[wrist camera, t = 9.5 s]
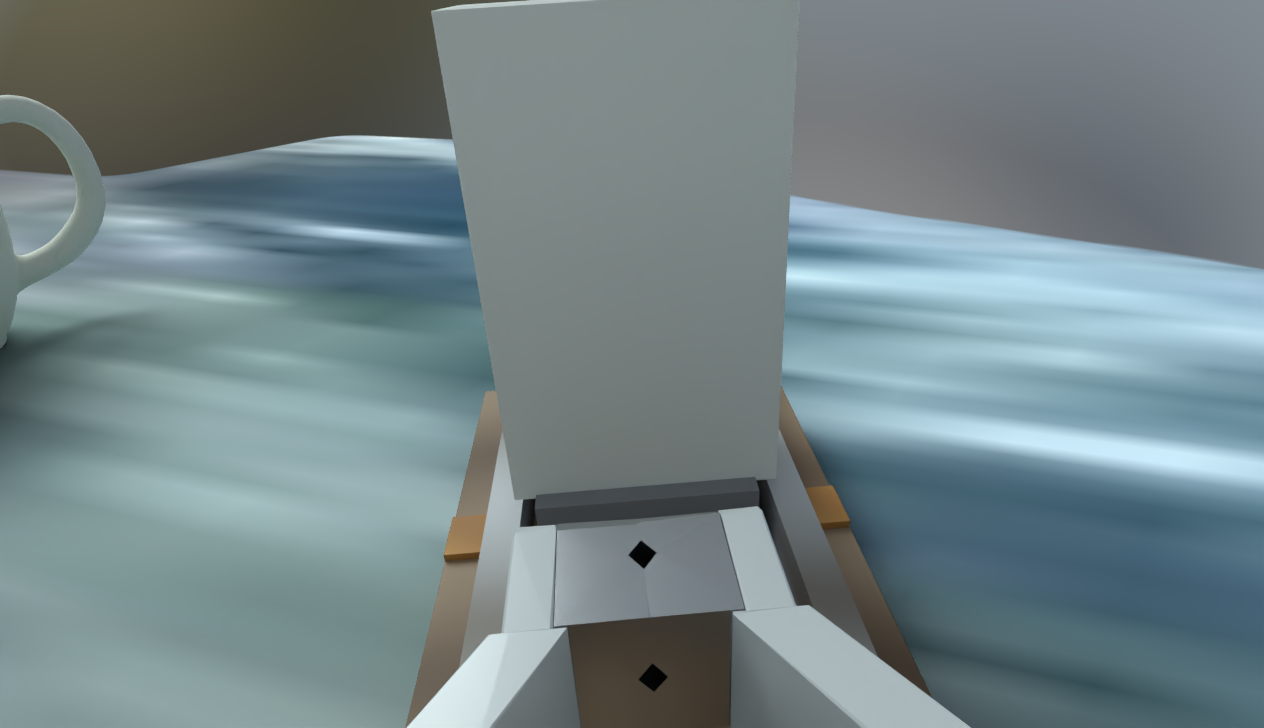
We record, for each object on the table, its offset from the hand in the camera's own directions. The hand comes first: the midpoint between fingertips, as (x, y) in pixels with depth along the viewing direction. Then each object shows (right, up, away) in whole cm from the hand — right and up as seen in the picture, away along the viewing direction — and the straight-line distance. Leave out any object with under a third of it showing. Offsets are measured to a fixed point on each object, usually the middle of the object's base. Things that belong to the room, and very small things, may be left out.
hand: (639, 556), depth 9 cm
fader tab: (0, -1, +10) cm, 10 cm away
